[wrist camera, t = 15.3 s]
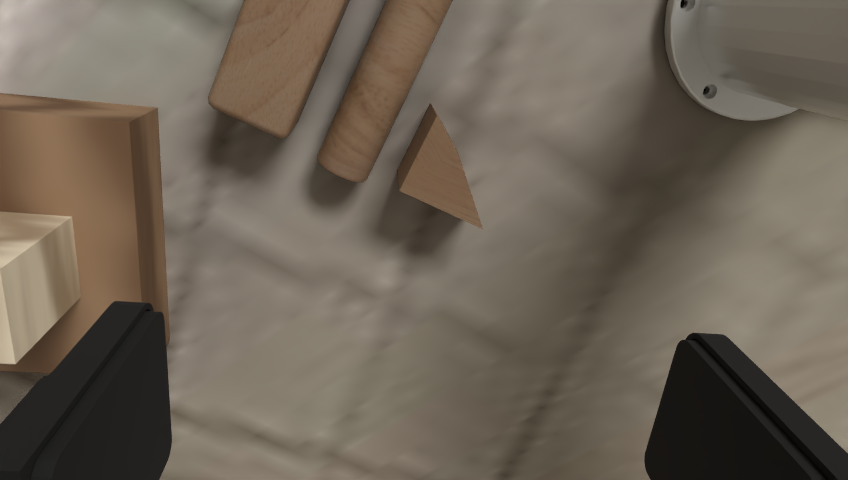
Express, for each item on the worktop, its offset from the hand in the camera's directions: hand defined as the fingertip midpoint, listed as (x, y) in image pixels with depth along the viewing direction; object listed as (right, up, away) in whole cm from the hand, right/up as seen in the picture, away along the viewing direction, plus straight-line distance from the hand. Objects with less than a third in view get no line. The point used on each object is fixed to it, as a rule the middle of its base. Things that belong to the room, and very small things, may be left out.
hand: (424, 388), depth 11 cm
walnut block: (-23, +4, +28) cm, 36 cm away
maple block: (-22, +2, +23) cm, 32 cm away
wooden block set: (-1, +15, +25) cm, 29 cm away
